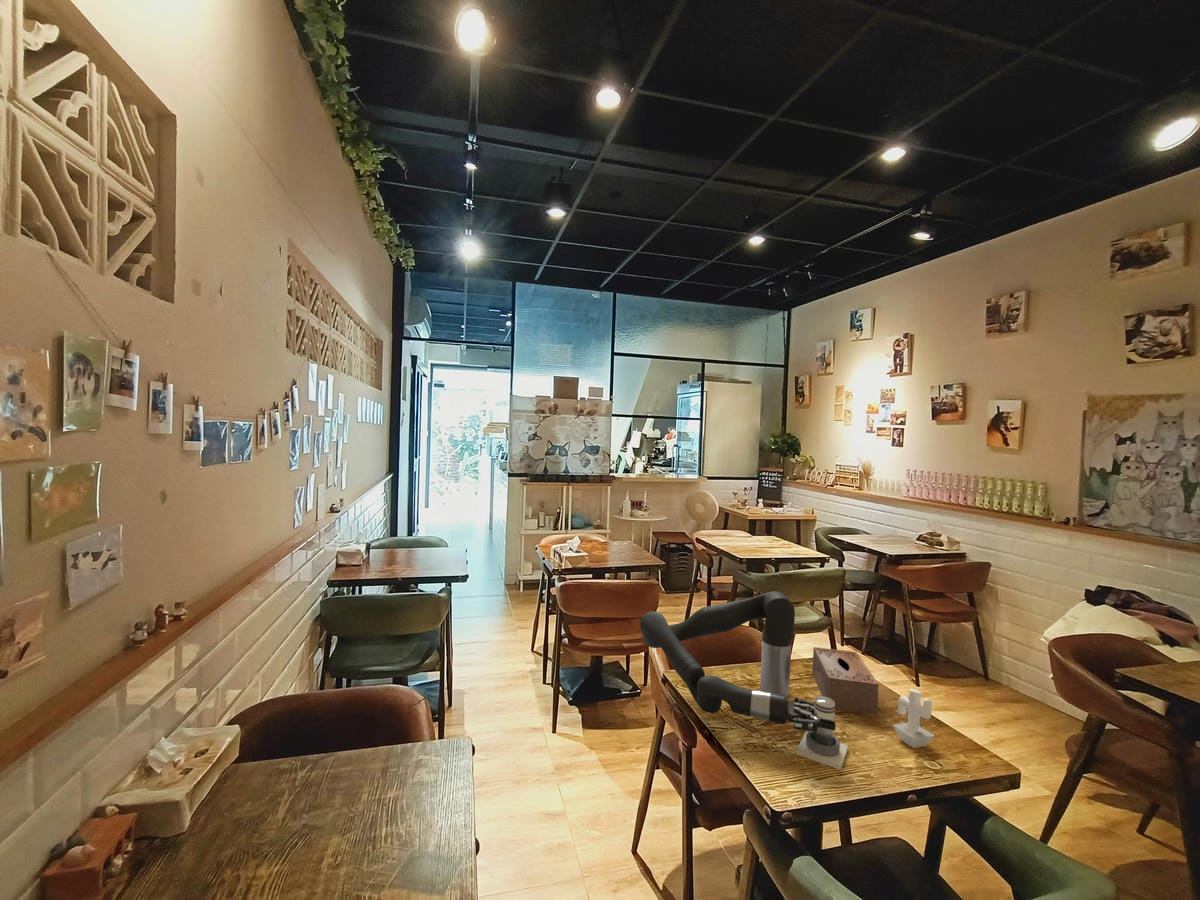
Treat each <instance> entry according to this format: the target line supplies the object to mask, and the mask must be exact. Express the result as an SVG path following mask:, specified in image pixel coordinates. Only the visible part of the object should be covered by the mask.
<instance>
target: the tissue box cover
mask: <svg viewBox="0 0 1200 900" xmlns="http://www.w3.org/2000/svg"><path fill="white" fill-rule="evenodd" d="M812 656H813V657H812V676H813V678H814V680H815V683H816V685H817V687H818V689H819V692H820V694H821V696H824V697H828V698H830V699H832V700H833V701H834V702H835V711H836V710H837V711H838V710H839V711H844V712H851V713H856V714H857V713H858V714H866V715H873V716H878V703H879V683H878V681H877V680H876V678H875V677H874V676H873V674H872V672H871V670H869V668H868V667H867V666H866V664H865V663H864V660H863V659H862V658H861V657H860V656H859V654H858V653H857V652H856V651H852V650H851V651H850V650H843V649H834V648H833V649H831V648H824V647H816V646H813V654H812Z"/></svg>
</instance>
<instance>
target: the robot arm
mask: <svg viewBox="0 0 1200 900" xmlns="http://www.w3.org/2000/svg"><path fill="white" fill-rule="evenodd" d="M795 613H796V610H795V606H794V604H793V602H792V601H791V600H790V598H789V597H788V596H787V595H786V594H784V593H783V592H781V591H775V590H772V591H769V592H765V593H762V594H759V595H757V596H756V595H755V596H753V597H750V598H745V599H741V600H734V601H729V602H722V603H718V604H713V605H708V606H704V607H701V608H699V609H697V610H696V611H695V612H693V613H692V615H690V616H689V617H688V618H686V619H685V620H683V621H681V622H678V623H675V624H670V625H669V624H668V621H667V620H666V618H665V616H664V615H663V614H662V613H660V612H659V611H647V612H645V613H644V614H643V615H642V616H641V618H640V621H639V628H640V630H641V631H640V632H641V633H642V637H643V640H644V643H645V645H646V646H648V647H649V648H653V649H660V648H661V649H662V651H663V653H664V655H665V656H666V658H667V660H668V662H669V663H670V665H671V667H672V668H673V669H674V670H675V673H676V674H678V676H679V677H680V679H682V681H683V682H684V683H685V685H686V686H687V689H688V690H689V692H690V694H691V696H692V698H693V700H694V701H695V703H696V704H697V705H698V707H699V708H700V710H703V712H705V713H708V714H715V713H717V712H719V711H720V710H721V707H722V704H723V701H724V702H725V703H727V704H728V705H729V708H730V710H731V712H732V713H734V714H738V715H742V716H745V717H746V716H747V717H751V718H754V719H757V720H760V721H763V722H768V723H774V724H778V725H783V726H785V725H786V722H790V723H792V724H793V730H797V731H798V730H799V731H805V732H808V731H814V732H817V729H819V728H824V729H829V730H833V732H834V731H835V730H836V726H837V725H836V724H837V723H836V722H835V720H834V721H831V720H827V719H822V718H818V717H815V716H814V702H812V701H809V700H806V699H804V698H799V697H794V698H793V699H794V700H793V701H787V700H788V697H789V696H790V684H791V683H790V682H791V681H790V679H791V678H790V677H791V658H792V641H793V637H794V632H795V620H796V619H795V617H796V614H795ZM760 619H765V621H764V630H763V631H762V635H761V637H762V638H761V640H762V641H761V658H760V659H761V660H760V661H761V662H760V663H761V664H760V678H759V679H760V682H759V689H758V690H757V689H756V690H755V689H751V688H746V687H740V686H737V685H735V684H734V683H732V682H729V681H728V680H725V679H723V678H721V677H718V676H717V675H716V676H715V675H713V674H712V675H709V674H708V675H706V672H705V671H704V668H703V667H702V665H701V664H700V663H699V662H698V661H697V660H696V659H695V657H694V656H693V655H692V654H691V653H690V652H689V651H688V649H686V647H685V646H684V645H683V644H682V642H684V641H688V640H691V639H697V638H701V637H705V636H711V635H717V634H723V633H726V632H730V631H732V630H734V629H736V628H738V627H740V626H743V625H744V624H745V623H748V622H750V621H753V620H754V621H755V620H760Z"/></svg>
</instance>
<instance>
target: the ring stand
mask: <svg viewBox="0 0 1200 900" xmlns="http://www.w3.org/2000/svg"><path fill="white" fill-rule="evenodd" d="M848 751H849V745H848V744H845V743H842V742H841V741H840V740H839V738H838V737H837V736H835V735H834V734H833V745H832V746H828V745H822V744H819V743H817V742H815V741H814V740H813V731H805V732H804V735H802V738H801V740H800V742H799V744H798V746H797V748H796V753H795V754H796V755H799V756H800V757H803V758H806V759H809V760H811V761H813V762H814V761H815V762H818V763H820V764H823V765H825V766H828V767H832V768H834V769H836V770H839V771H841V770H842V768H843V765H844V762H845V760H846V756H847V753H848Z"/></svg>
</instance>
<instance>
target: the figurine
mask: <svg viewBox="0 0 1200 900" xmlns="http://www.w3.org/2000/svg"><path fill="white" fill-rule="evenodd" d="M908 694H909V695H908V697H907V696H905V695H900V697H899V698H898V706H897V707H898V709H897V713H898V714H899V715H902V716H903V715H906V714H907V710H908V716H907V717H908V720H907V722H903V723H902V722H901V723H895V724H894V723H893V724H892V726H893V728H894V730H895V733H896V734H897V737H898V738H899V740H900V741H901V742H903V743H905V744H906V745H907V746H909V747H911V748H912V749H917V748H924V747H927V745H928V744H929V743H930V742H931V740H933V738H934V737H935V734H933V733H931V732H930V731H928V730H926V729H925V728H923V727H921V726H920V725H921V724H920V718H922V719H925V720H929V719H931V716H932V705H933V701H932V700H931V699H930V698H925V699H923V701H922V700H921V699H922V692H921V690H918V689H915V688H911V689H909V693H908ZM921 701H922V702H923V704H922V703H921ZM923 746H924V747H923Z"/></svg>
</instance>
